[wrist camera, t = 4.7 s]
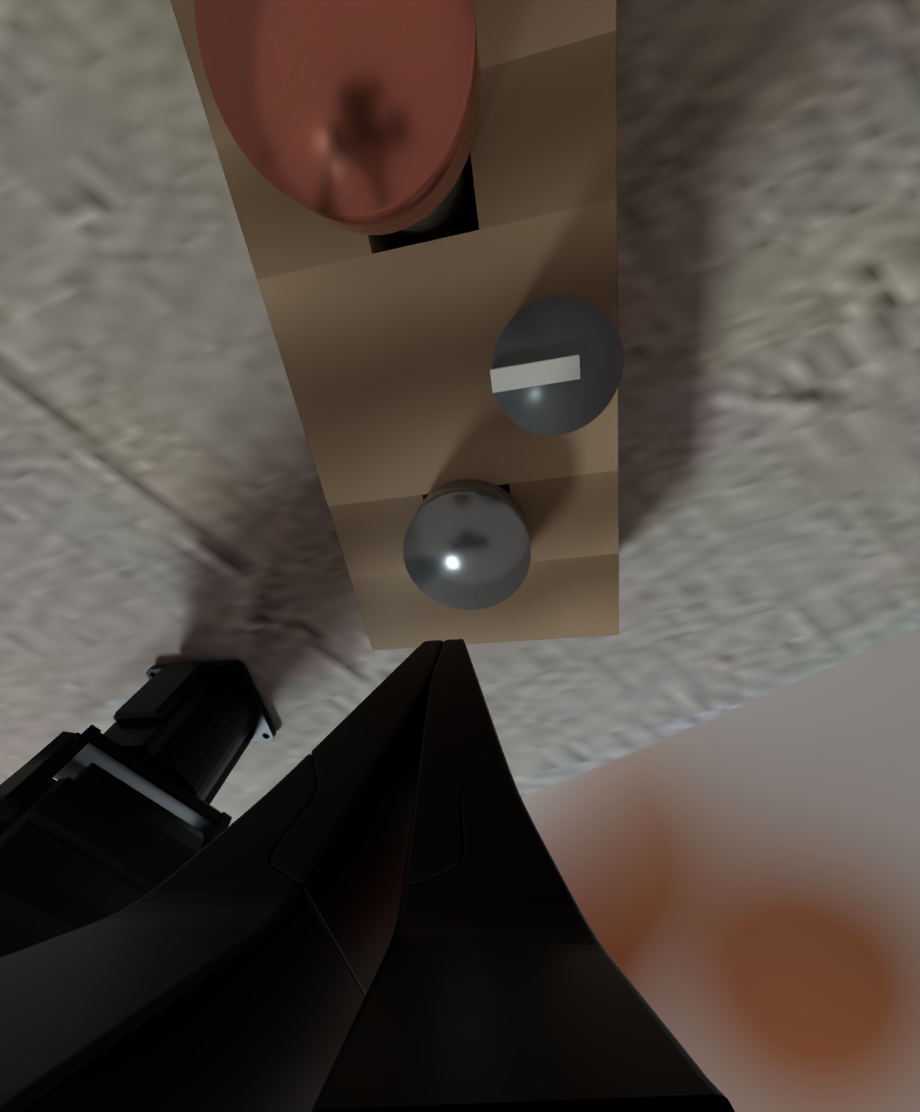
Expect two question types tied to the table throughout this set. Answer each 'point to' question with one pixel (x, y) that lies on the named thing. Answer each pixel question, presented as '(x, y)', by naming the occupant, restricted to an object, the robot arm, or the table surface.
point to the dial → (557, 365)
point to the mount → (458, 332)
